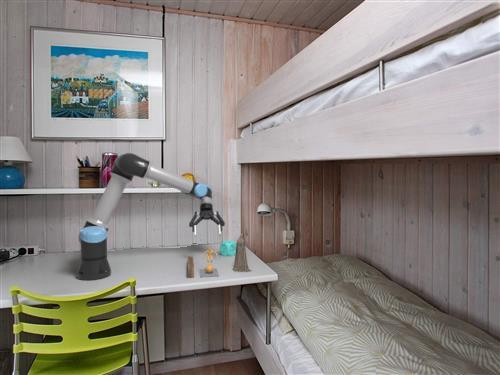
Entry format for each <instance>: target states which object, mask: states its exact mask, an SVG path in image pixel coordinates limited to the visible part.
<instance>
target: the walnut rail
mask: <svg viewBox="0 0 500 375" xmlns="http://www.w3.org/2000/svg"><path fill="white" fill-rule="evenodd" d="M187 278H188V279H191V278H193V279H194V278H195V263H194V255H189V256H187Z"/></svg>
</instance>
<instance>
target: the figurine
mask: <svg viewBox="0 0 500 375" xmlns="http://www.w3.org/2000/svg"><path fill="white" fill-rule="evenodd" d="M206 253H207V257H206V261H207V266H206V267H205V269H206V272H207V273H212V272H213V270H214V269H215V268H214V266H213V264H212V262H213V257H214V256H213V255H212V254H213V253H214V254H215V255H216V258H217V259H219V256H218V254H217V252H216V251H214V250H212V249H211V248H209V249H207V250H206V251H204V252H203V253H202V255H201V259H203V257H204V255H205V254H206ZM209 260H210V261H209ZM209 262H210V263H209Z"/></svg>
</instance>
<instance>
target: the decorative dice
mask: <svg viewBox="0 0 500 375" xmlns="http://www.w3.org/2000/svg"><path fill="white" fill-rule="evenodd" d="M236 243H237V242H235V241H234V240H225V241H222V242H221V243H220V245H219V251H220V252H219V253H220V254H221V255H222V256H223V257H235V254H236Z"/></svg>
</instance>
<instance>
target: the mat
mask: <svg viewBox="0 0 500 375" xmlns="http://www.w3.org/2000/svg"><path fill="white" fill-rule="evenodd" d="M199 275H200V278H211V277H212V278H213V277H220V275H219V272H218V269H217V268H214V270H213V272H212V273H207V272H206V268H205V269H199Z"/></svg>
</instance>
